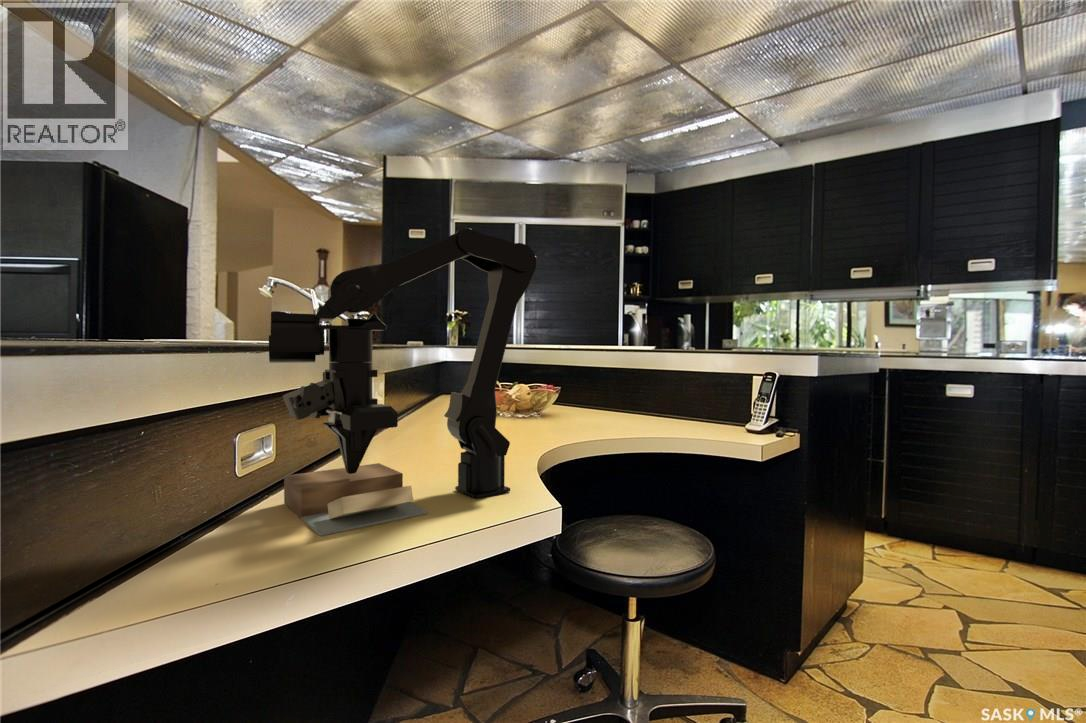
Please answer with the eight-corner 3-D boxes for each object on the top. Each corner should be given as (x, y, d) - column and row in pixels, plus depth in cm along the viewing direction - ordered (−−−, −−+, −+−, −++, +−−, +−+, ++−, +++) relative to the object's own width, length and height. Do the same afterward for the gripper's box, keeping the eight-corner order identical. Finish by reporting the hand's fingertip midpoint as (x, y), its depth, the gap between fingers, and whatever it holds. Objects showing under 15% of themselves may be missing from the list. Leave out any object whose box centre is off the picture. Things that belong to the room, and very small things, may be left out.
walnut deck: (378, 487, 85) (378, 463, 84) (402, 500, 78) (402, 473, 77) (284, 503, 76) (284, 475, 76) (301, 519, 69) (301, 488, 69)
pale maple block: (411, 485, 70) (413, 500, 69) (393, 492, 74) (395, 506, 73) (341, 497, 64) (343, 514, 63) (327, 503, 68) (329, 519, 68)
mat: (402, 500, 78) (402, 498, 78) (427, 513, 71) (427, 511, 71) (301, 519, 69) (301, 516, 69) (319, 536, 62) (319, 533, 62)
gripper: (272, 361, 76) (273, 469, 76) (308, 364, 62) (309, 497, 62) (350, 361, 83) (350, 459, 83) (399, 363, 69) (399, 482, 69)
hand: (351, 473), depth 74 cm, fingers closed
